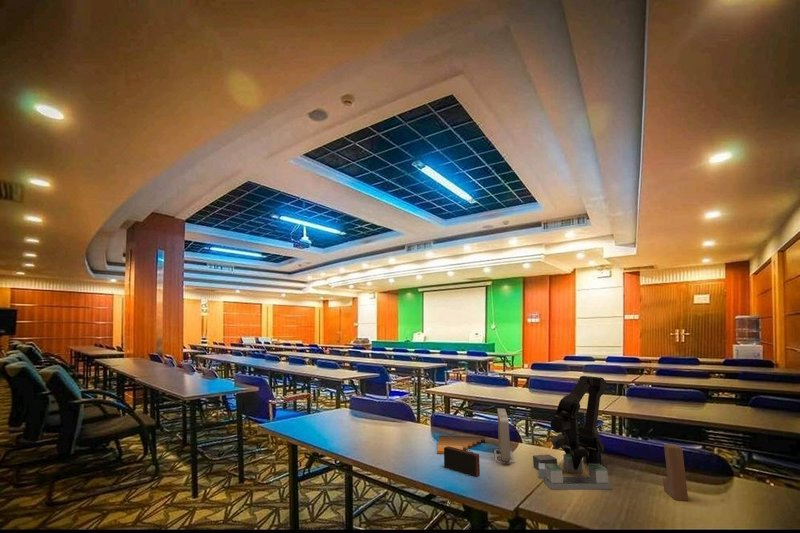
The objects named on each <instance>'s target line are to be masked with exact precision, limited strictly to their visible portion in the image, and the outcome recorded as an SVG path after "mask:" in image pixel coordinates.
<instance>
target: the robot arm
mask: <svg viewBox="0 0 800 533" xmlns="http://www.w3.org/2000/svg"><path fill="white" fill-rule="evenodd" d="M606 388H607V381H606V380H605V379H604V378H603V377H601V376H589V375H580V377H579V379H578V381H577V383H576V384H575V386H574V387H573V388H572V390H571V391H570V393H569V394H567V395H564V396H563V397H562V398H561V399H560V401H559V402H558V406H557V409H556V412H555V415H554V419H552V420H551V421H550V425H549V426H550V428H551V430H552V431H553V432H554V433H556V434H558V435H556V436H552V437H551V438H550V441H551V444H552V447H554V448H555V449H560V448H561V450H563V451H564V454H570V455H571V456H572V461H573V466H574V469H575V470H577V469H578V467H579V464H580V462H581V460H582V462H583V461H584V462H583V463H585V464H586V463H587V464H601V465H604V464H603V463H602V453H604V450H605V445H604V444H603V442H602V441H601V439H600V437H601V436H600V433H599V431H598V429H597V426H598V419H599V412H600V411H599V409H600V402H601V397H602V396H603V395H604V393H605V392H606ZM586 393H588V397H587V404H586V413H585V422H584V425H583V426H580V427H579V428H578V419H579V418H580V416H579V415H578V412H579V411H580V408H581V403H580V402H581V401H582V399H583V397H584V396H585V394H586ZM587 464H586V465H587Z"/></svg>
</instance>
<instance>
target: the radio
mask: <svg viewBox="0 0 800 533" xmlns="http://www.w3.org/2000/svg"><path fill="white" fill-rule="evenodd" d="M440 432H441V433H443V435H447V434H446V433H445V432H443V431H442V430H440ZM447 436H448V437H449V436H450V435H447ZM450 438H451V437H450ZM451 439H452V438H451ZM453 440H454V439H453ZM454 441H455V440H454ZM456 442H457V441H456ZM457 443H458V442H457ZM459 444H460V443H459ZM460 445H461V444H460ZM462 446H463V445H462ZM463 447H464V446H463ZM465 448H466V447H465ZM466 449H467V448H466ZM443 468H444V469H447V470H451V471H454V472H458V473H460V474H464V475H467V476H471V477H475V478H477V477H479V476H480V475H481V474H480V473H481V470H480V469H481V468H480V454H479V453H476V452H473V451H472V450H470V449H468V451H465V450H461V449H457V448H453V447H449V446H447V447H445V448H444V454H443Z"/></svg>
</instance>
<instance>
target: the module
mask: <svg viewBox="0 0 800 533" xmlns="http://www.w3.org/2000/svg"><path fill="white" fill-rule="evenodd" d="M562 454H563V468H564V470H565V471H566V472H567V473H571V474H574V473H576V474H577V473H579V474H581V473H583V472H584V469H583V459H582V460H581V462H580V464H579V467H578V469H577V470H575V469H574V466H573V461H572V456H571V455H570V454H565V453H562Z"/></svg>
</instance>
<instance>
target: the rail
mask: <svg viewBox="0 0 800 533" xmlns="http://www.w3.org/2000/svg"><path fill="white" fill-rule="evenodd" d="M587 467H588V469H587V470H588V476H563V468H561V466H560V465H558V463H557V464H545V477H544V479H543V483H544V484H545V485H546V487H549V489H550V490H612V489H611V483H610V482H609V475H608V474H609V473H608V469H607V468H606V467H605V466H602V465H601V464H588V466H587Z"/></svg>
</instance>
